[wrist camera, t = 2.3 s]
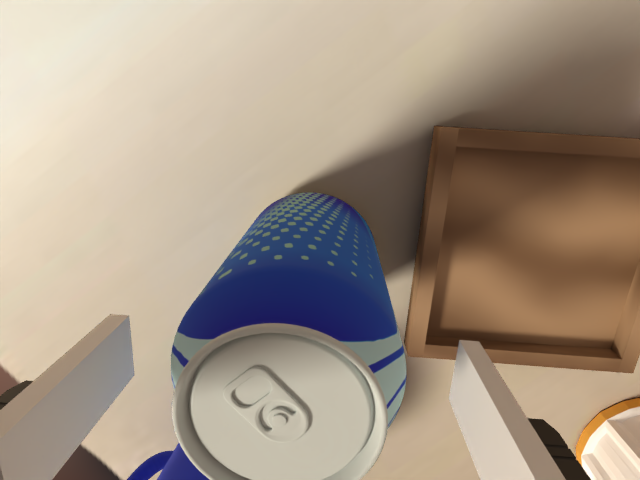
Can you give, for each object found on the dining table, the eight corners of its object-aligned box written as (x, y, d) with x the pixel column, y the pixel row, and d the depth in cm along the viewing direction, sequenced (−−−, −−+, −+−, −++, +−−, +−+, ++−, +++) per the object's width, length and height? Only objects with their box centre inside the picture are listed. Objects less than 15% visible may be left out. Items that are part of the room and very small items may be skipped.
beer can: (376, 187, 26) (428, 298, 11) (372, 306, 29) (412, 531, 13) (245, 188, 26) (119, 297, 11) (254, 305, 29) (160, 523, 14)
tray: (434, 125, 25) (441, 127, 23) (686, 141, 24) (712, 143, 23) (404, 341, 29) (408, 356, 28) (615, 357, 29) (633, 373, 27)
